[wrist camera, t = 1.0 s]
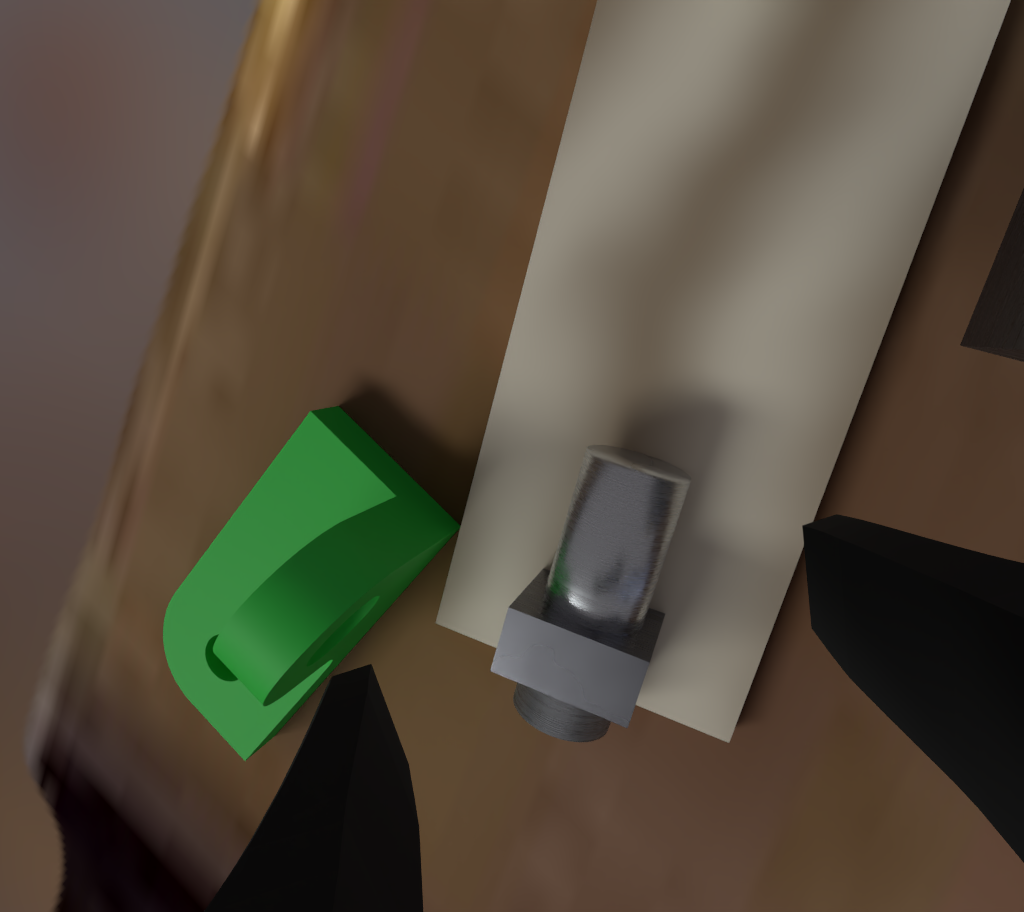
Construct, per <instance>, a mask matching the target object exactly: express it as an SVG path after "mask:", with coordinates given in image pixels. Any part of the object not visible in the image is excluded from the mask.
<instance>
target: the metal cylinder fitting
mask: <svg viewBox="0 0 1024 912" xmlns="http://www.w3.org/2000/svg"><path fill="white" fill-rule="evenodd" d="M690 482H691V477H690V476H689V475H688V474H687V473H686V472H684V471H683V470H681V469H679V468H678V467H676V466H674V465H671V464H669V463H667V462H665V461H662V460H660V459H657V458H654V457H651V456H648V455H645V454H642V453H639V452H635V451H632V450H628V449H623V448H619V447H614V446H607V445H590V446H588V447H587V448H586V452H585V455H584V458H583V462H582V465H581V469H580V472H579V475H578V479H577V482H576V486H575V489H574V492H573V496H572V499H571V502H570V506H569V509H568V513H567V516H566V519H565V523H564V526H563V530H562V533H561V536H560V540H559V543H558V547H557V550H556V553H555V557H554V560H553V564H552V567H551V570H550V571H549V570H547V569H544V568H543V569H542V570H541V571H540V573H539V574H538V575H537V576H536V577H535V578H534V579H533V580H532V581H531V583H530V584H529V585H528V586H527V587H526V588H525V589H524V590H523V591H522V593H521V594H520V595H519V596H518V597H517V598H516V599H515V600H514V601H513V603H512V604H511V605H510V606H509V607H508V610H507V614H506V618H505V621H504V625H503V628H502V632H501V635H500V639H499V642H498V646H497V649H496V653H495V656H494V660H493V663H492V667H491V670H490V671H491V672H494V673H496V674H499V675H501V676H503V677H506V678H508V679H511V680H513V681H515V682H517V686H516V689H515V692H514V696H513V701H514V705H515V708H516V709H517V711H518V713H519V714H520V715H521V716H522V717H523V718H524V719H525V720H526V721H527V722H528V723H529V724H530V725H532V726H533V727H535V728H536V729H538V730H540V731H542V732H544V733H546V734H548V735H550V736H553V737H556V738H559V739H562V740H567V741H573V742H589V741H594V740H597V739H599V738H601V737H603V736H604V735H605V734H606V733H607V731H608V728H609V725H610V722H614V723H616V724H619V725H621V726H623V727H626V728H628V725H629V722H630V719H631V716H632V713H633V710H634V707H635V704H636V702H637V699H638V696H639V693H640V690H641V687H642V684H643V681H644V678H645V675H646V672H647V669H648V666H649V663H650V660H651V657H652V654H653V651H654V648H655V645H656V642H657V639H658V635H659V632H660V629H661V626H662V623H663V620H664V617H665V613H662V612H659V611H657V610H654V609H651V608H649V605H650V602H651V599H652V596H653V593H654V590H655V587H656V584H657V581H658V578H659V575H660V572H661V569H662V566H663V563H664V560H665V557H666V554H667V551H668V548H669V545H670V542H671V539H672V536H673V533H674V530H675V527H676V524H677V521H678V518H679V515H680V512H681V509H682V506H683V503H684V500H685V497H686V494H687V491H688V488H689V485H690Z"/></svg>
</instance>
